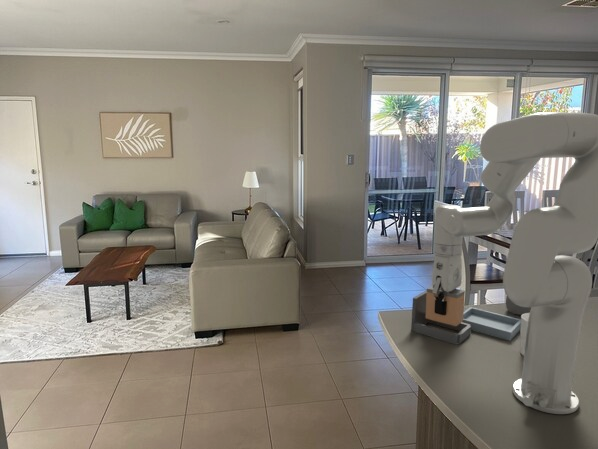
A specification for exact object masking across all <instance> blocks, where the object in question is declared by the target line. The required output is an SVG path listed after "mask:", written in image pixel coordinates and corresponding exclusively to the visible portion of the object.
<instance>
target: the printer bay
mask: <svg viewBox="0 0 598 449" xmlns="http://www.w3.org/2000/svg"><path fill="white" fill-rule="evenodd" d="M426 296H427V289H426V290H424V291H423V292H421V293H419V294H417V295H416V296H413V298H412V307H411V308H412V309H411V325H410V326H411V327H410V331H412V332H415V333H418V334H422V335H425V336H429V337H431V338H433V339H438V340H441V341H444V342H447V343H449V344H450V343H451V344H453V345H458V344H462V342H463V341H465V340H466V339H467V338H468V337H469V336H470V335H471V332H472V330H471V325H470V324H467V323H463V322H461V323H460V324H458V325H457V326H453V325H449V324H445V323H441V322H437V321H434V320H430V319H426ZM428 323H430V324H434V325H437V326H440V327H444V328H447V329H450V330H454V331H458V332H457V333H454V332H450V331H447V330H444V329H440V328H436V327H434V326H431V325H427V324H428Z"/></svg>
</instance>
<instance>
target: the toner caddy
mask: <svg viewBox="0 0 598 449" xmlns="http://www.w3.org/2000/svg"><path fill="white" fill-rule="evenodd" d="M440 289H441V290H443V288H441V287H440ZM426 290H427V296H426V319H430V320H434V321H437V322H441V323H445V324H449V325H453V326H457V325H458V324H460V323H461V322H463V313H464V311H465V293H466V292H465V290H462V289H458V288H456V289H454V290H452V291H451V292H447V293H446V300H445V301H447V306H446V315H440V314H436V313H435V312H434V311H435V299H434V298H435V297H434V294H433V293H432V292H433V287H432V285H430V286H429V287H427V288H426ZM440 293H441V294H442V296H443V292H440Z"/></svg>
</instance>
